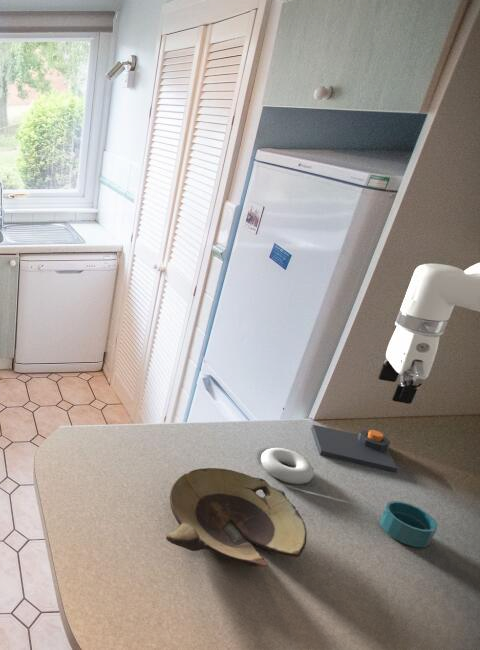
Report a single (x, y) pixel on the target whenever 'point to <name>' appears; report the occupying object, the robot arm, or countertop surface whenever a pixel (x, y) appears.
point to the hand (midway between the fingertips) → (393, 390)
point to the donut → (294, 475)
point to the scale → (354, 448)
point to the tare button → (375, 435)
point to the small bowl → (408, 524)
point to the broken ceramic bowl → (234, 516)
